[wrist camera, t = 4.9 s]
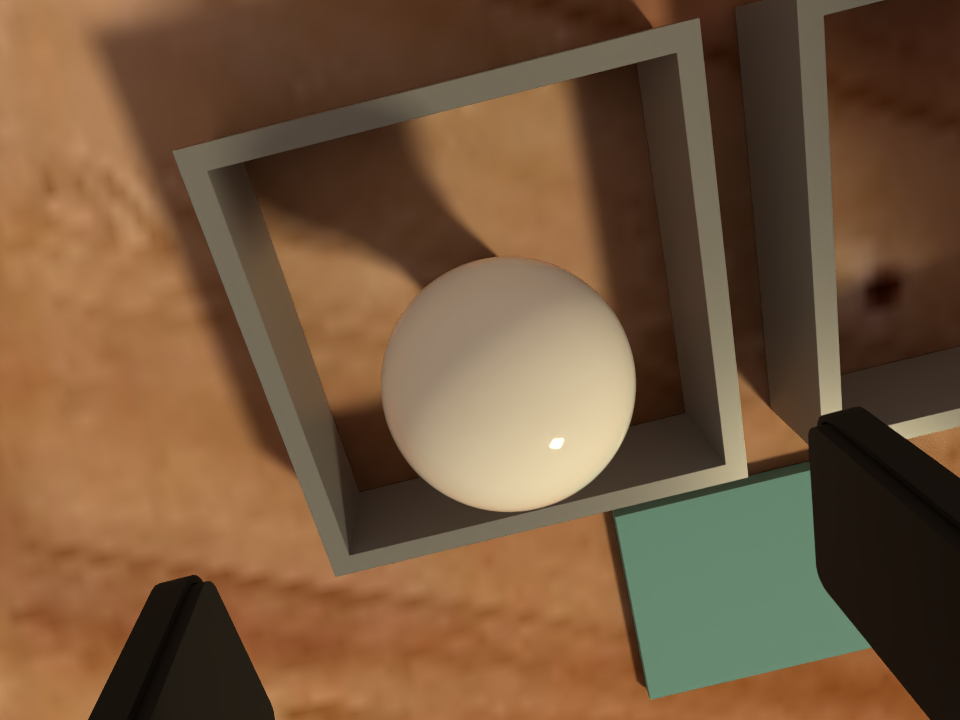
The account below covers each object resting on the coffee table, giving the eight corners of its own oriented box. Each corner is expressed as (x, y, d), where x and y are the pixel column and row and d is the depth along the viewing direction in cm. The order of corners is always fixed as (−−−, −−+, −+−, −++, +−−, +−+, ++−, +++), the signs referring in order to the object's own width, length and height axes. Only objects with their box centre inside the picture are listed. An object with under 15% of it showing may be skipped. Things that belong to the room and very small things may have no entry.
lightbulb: (588, 352, 26) (692, 524, 16) (423, 398, 27) (422, 596, 16) (550, 183, 24) (643, 260, 14) (369, 234, 24) (329, 348, 14)
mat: (902, 438, 29) (911, 445, 28) (904, 628, 33) (912, 637, 32) (611, 508, 29) (615, 517, 28) (646, 689, 33) (650, 699, 32)
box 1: (654, 27, 23) (699, 17, 19) (705, 424, 28) (748, 477, 24) (212, 139, 23) (171, 151, 19) (347, 511, 28) (335, 576, 24)
